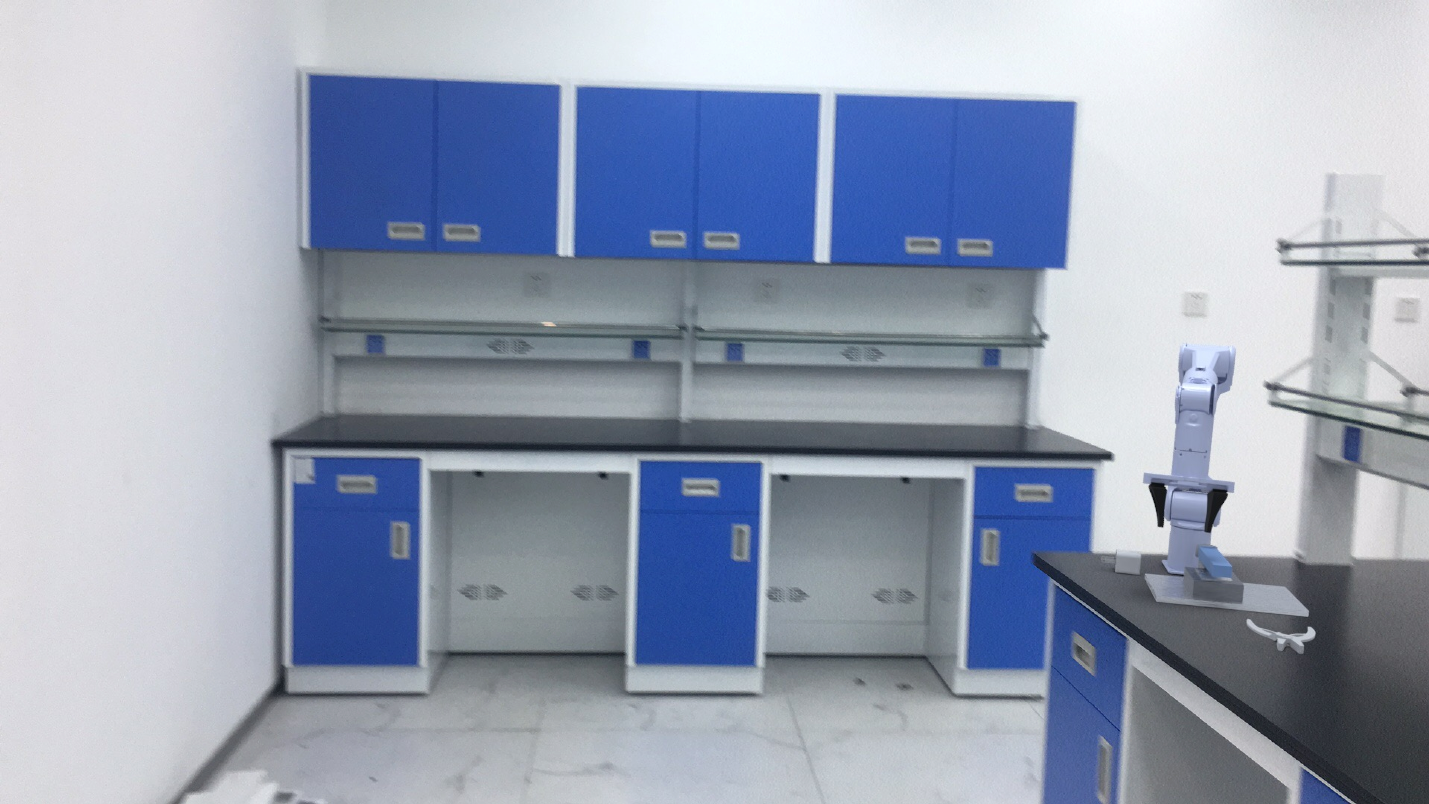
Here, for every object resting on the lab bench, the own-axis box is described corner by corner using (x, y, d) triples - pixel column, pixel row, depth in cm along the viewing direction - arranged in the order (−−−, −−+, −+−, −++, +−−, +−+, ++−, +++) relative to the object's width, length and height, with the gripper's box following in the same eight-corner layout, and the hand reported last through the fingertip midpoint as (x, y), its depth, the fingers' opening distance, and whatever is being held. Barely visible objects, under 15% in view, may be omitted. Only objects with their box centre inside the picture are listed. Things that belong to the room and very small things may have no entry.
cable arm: (1193, 553, 206) (1194, 543, 205) (1214, 555, 205) (1215, 545, 205) (1210, 576, 189) (1211, 564, 189) (1233, 578, 189) (1234, 566, 188)
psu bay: (1144, 578, 208) (1146, 552, 207) (1284, 592, 202) (1287, 564, 202) (1156, 601, 192) (1158, 572, 192) (1308, 616, 187) (1311, 587, 186)
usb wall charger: (1139, 576, 210) (1141, 555, 210) (1100, 571, 212) (1102, 551, 212) (1138, 571, 214) (1140, 550, 214) (1100, 566, 216) (1102, 546, 216)
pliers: (1313, 622, 180) (1328, 649, 166) (1312, 631, 180) (1327, 659, 166) (1246, 613, 183) (1255, 639, 169) (1245, 623, 183) (1254, 649, 169)
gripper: (1150, 447, 191) (1142, 526, 191) (1241, 456, 188) (1233, 536, 187) (1144, 447, 198) (1137, 523, 198) (1232, 456, 195) (1224, 533, 194)
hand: (1183, 529), depth 193 cm, fingers open, 7 cm apart
